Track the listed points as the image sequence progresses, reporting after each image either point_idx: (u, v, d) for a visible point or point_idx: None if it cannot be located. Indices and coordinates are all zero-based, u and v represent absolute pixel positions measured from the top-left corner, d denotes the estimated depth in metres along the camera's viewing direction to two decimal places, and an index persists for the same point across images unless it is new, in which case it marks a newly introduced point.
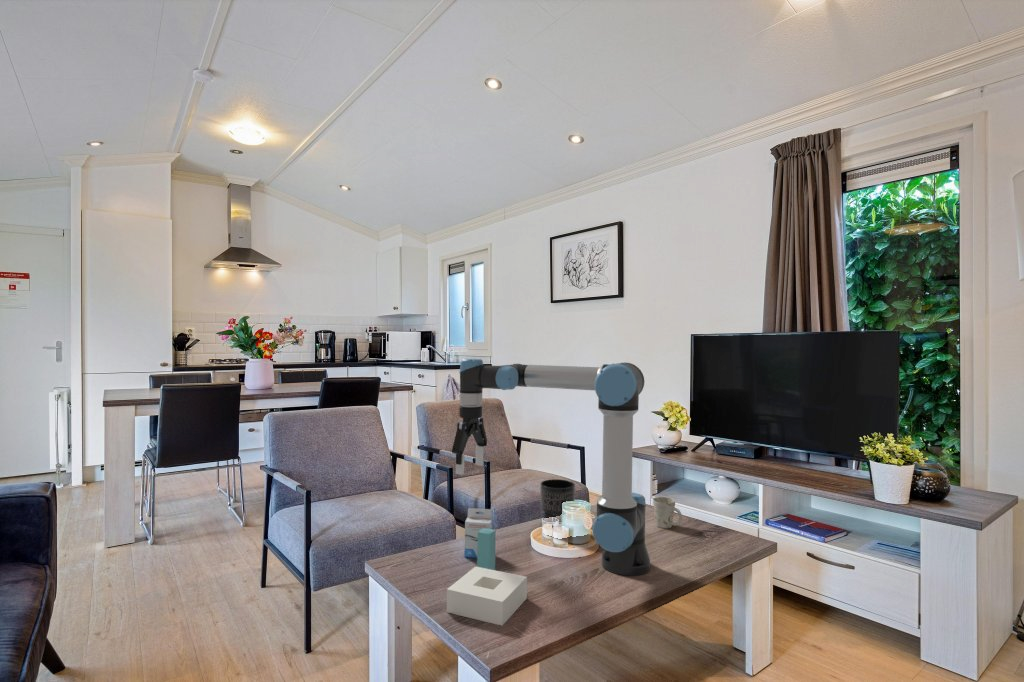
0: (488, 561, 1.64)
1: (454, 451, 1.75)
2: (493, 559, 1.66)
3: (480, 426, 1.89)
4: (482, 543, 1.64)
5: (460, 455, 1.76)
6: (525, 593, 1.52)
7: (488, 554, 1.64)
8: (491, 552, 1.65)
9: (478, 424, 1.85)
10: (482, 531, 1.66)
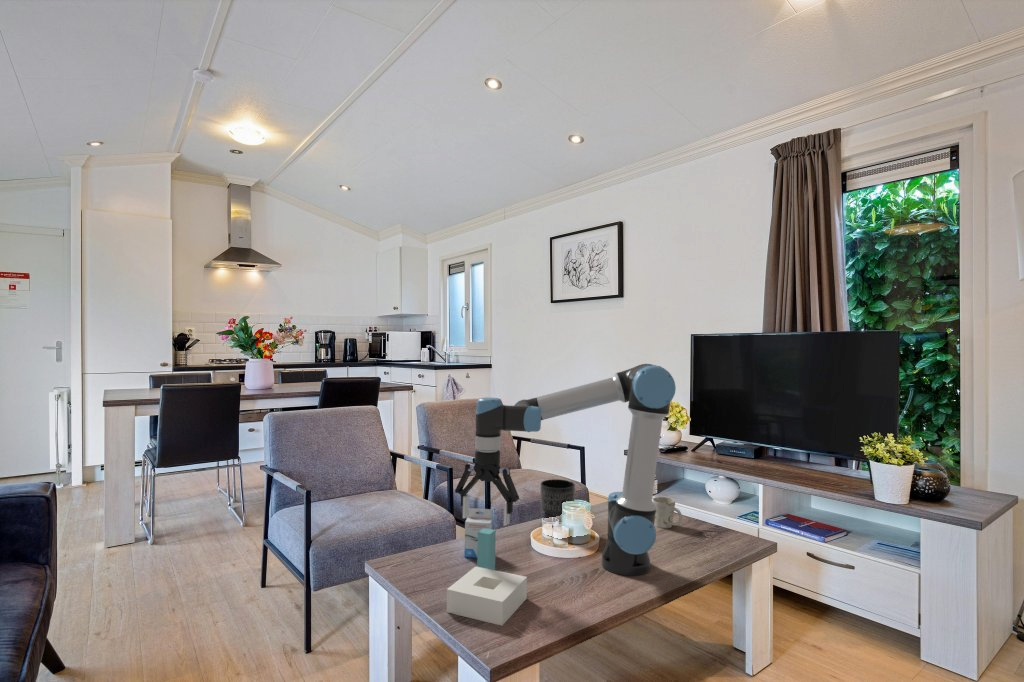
0: (488, 561, 1.64)
1: None
2: (493, 559, 1.66)
3: None
4: (482, 543, 1.64)
5: (462, 496, 1.69)
6: (525, 593, 1.52)
7: (488, 554, 1.64)
8: (491, 552, 1.65)
9: (489, 473, 1.63)
10: (482, 531, 1.66)
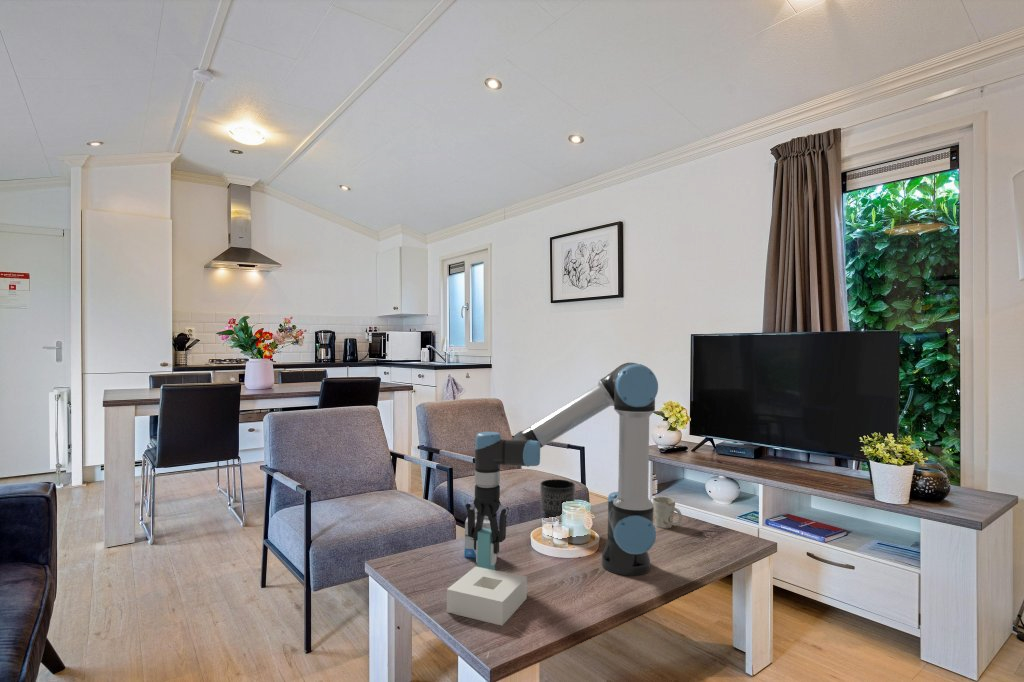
0: (488, 561, 1.64)
1: None
2: None
3: None
4: (482, 543, 1.64)
5: (475, 540, 1.67)
6: (525, 593, 1.52)
7: (488, 554, 1.64)
8: None
9: (489, 509, 1.64)
10: (482, 531, 1.66)
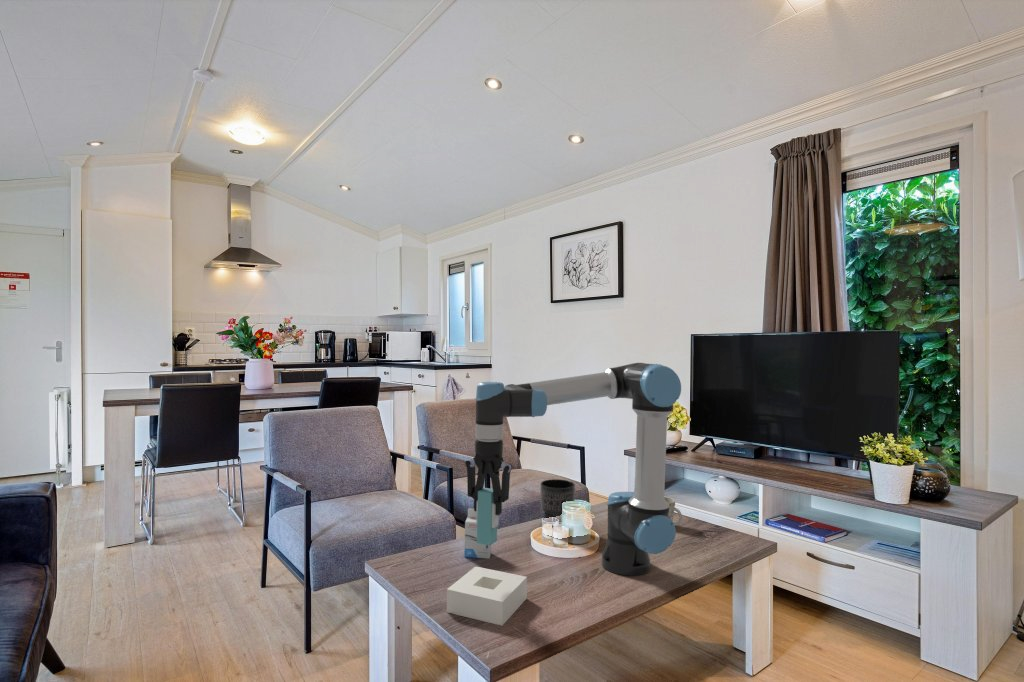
0: (489, 523, 1.49)
1: None
2: None
3: None
4: (482, 503, 1.49)
5: (475, 500, 1.52)
6: (525, 593, 1.52)
7: (489, 515, 1.48)
8: None
9: (491, 465, 1.48)
10: (483, 490, 1.51)
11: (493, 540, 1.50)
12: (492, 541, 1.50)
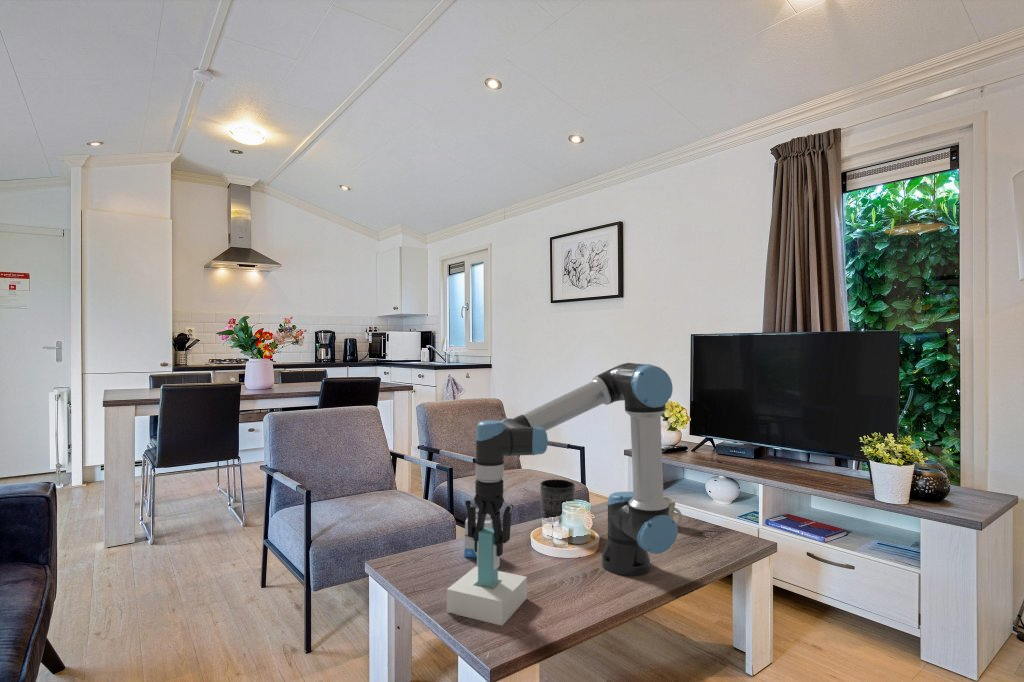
0: (490, 564, 1.47)
1: None
2: None
3: None
4: (483, 544, 1.47)
5: (476, 541, 1.50)
6: (525, 593, 1.52)
7: (490, 557, 1.47)
8: None
9: (492, 506, 1.47)
10: (484, 531, 1.49)
11: (494, 581, 1.48)
12: (493, 582, 1.48)
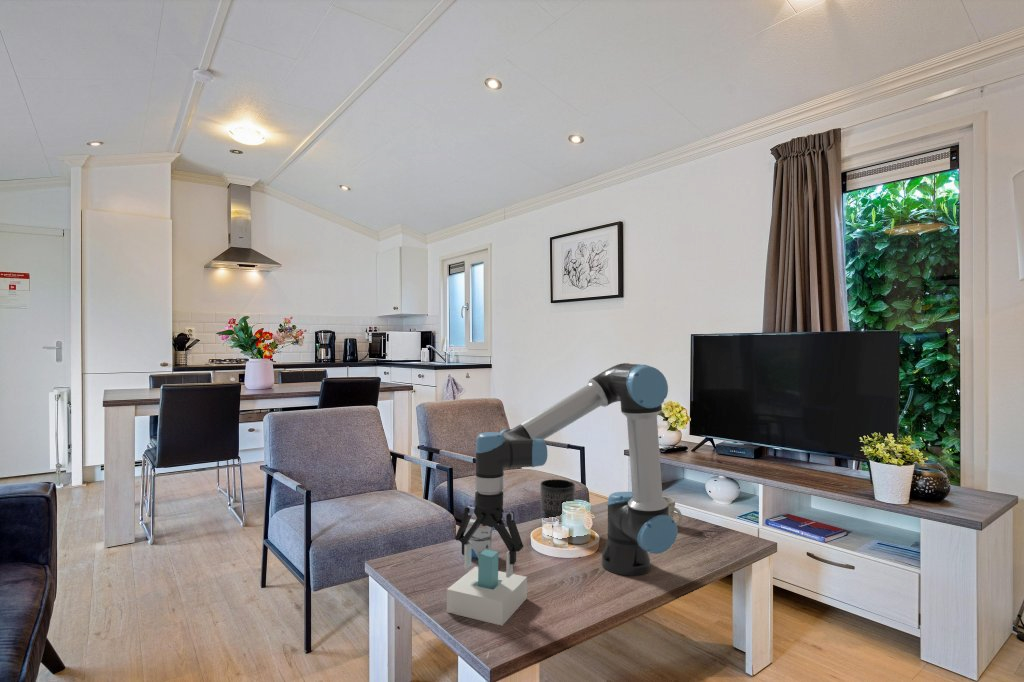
0: (490, 587, 1.47)
1: None
2: (496, 585, 1.49)
3: None
4: (483, 567, 1.48)
5: (463, 544, 1.51)
6: (525, 593, 1.52)
7: (490, 579, 1.47)
8: (494, 577, 1.48)
9: (492, 517, 1.47)
10: (483, 553, 1.49)
11: None
12: None
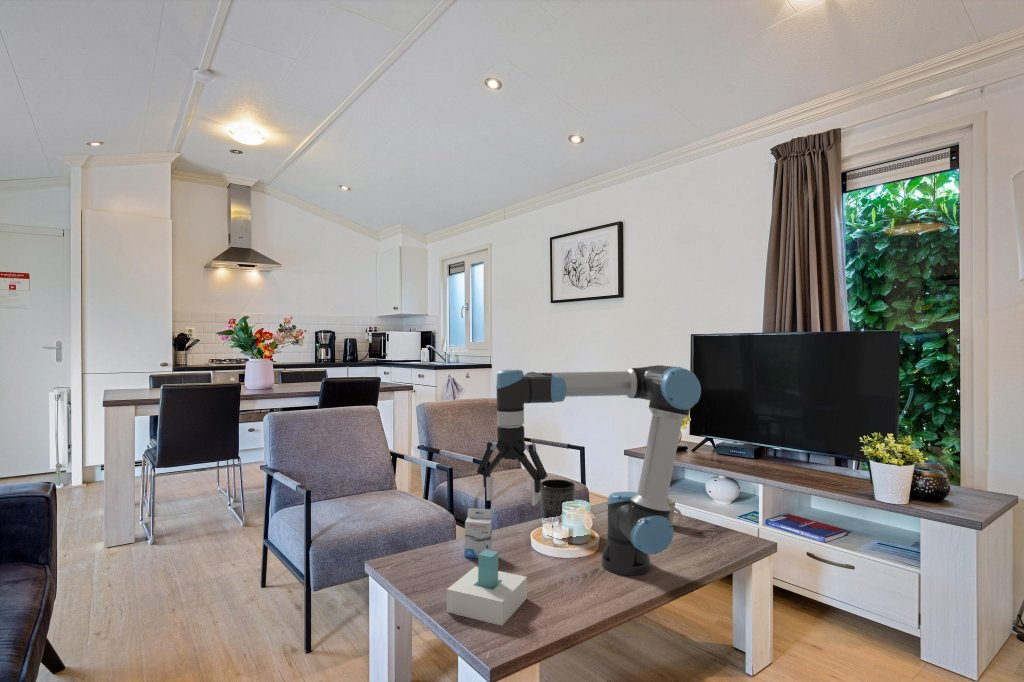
0: (490, 587, 1.47)
1: None
2: (496, 585, 1.49)
3: None
4: (483, 567, 1.48)
5: (485, 477, 1.57)
6: (525, 593, 1.52)
7: (490, 579, 1.47)
8: (494, 577, 1.48)
9: (514, 450, 1.52)
10: (483, 553, 1.49)
11: None
12: None
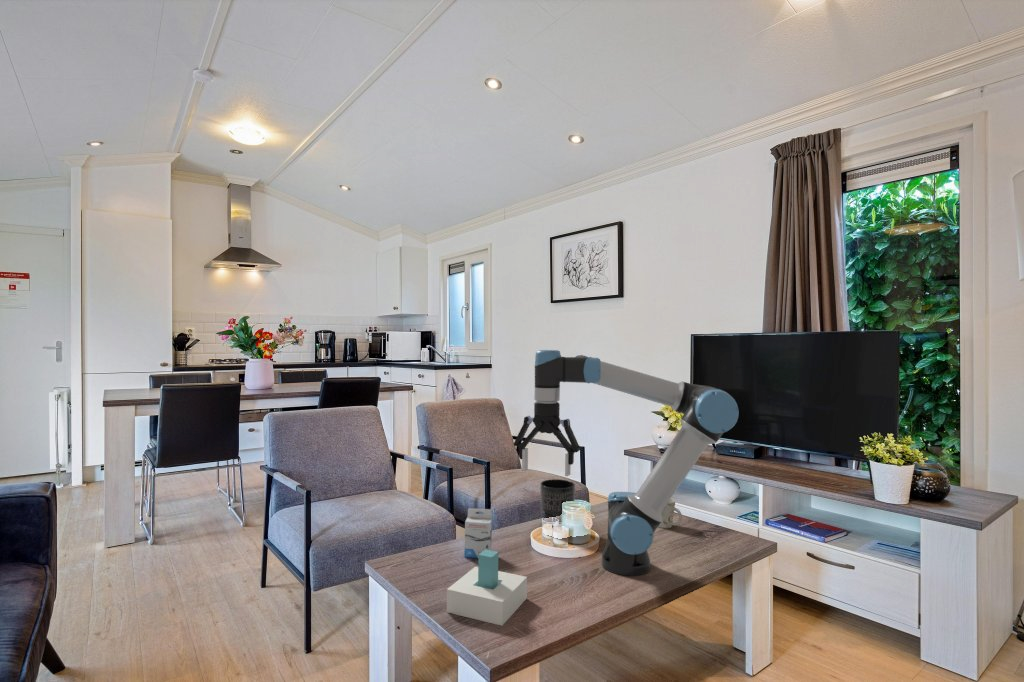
0: (490, 587, 1.47)
1: None
2: (496, 585, 1.49)
3: None
4: (483, 567, 1.48)
5: (521, 449, 1.68)
6: (525, 593, 1.52)
7: (490, 579, 1.47)
8: (494, 577, 1.48)
9: (550, 424, 1.63)
10: (483, 553, 1.49)
11: None
12: None
